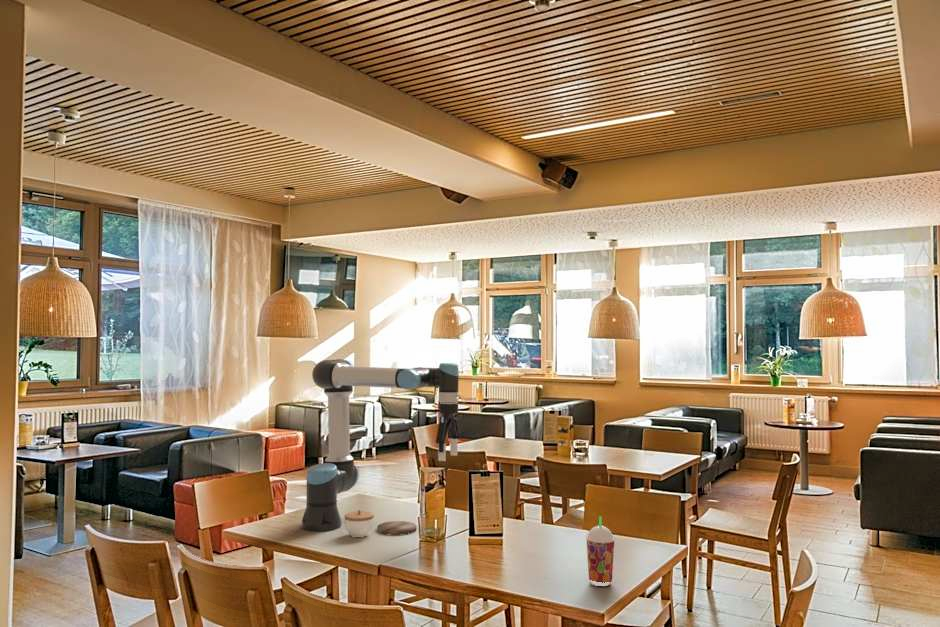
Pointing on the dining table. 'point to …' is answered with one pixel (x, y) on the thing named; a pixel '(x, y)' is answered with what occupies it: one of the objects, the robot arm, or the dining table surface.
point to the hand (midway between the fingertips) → (448, 458)
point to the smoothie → (600, 553)
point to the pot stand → (396, 527)
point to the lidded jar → (359, 523)
